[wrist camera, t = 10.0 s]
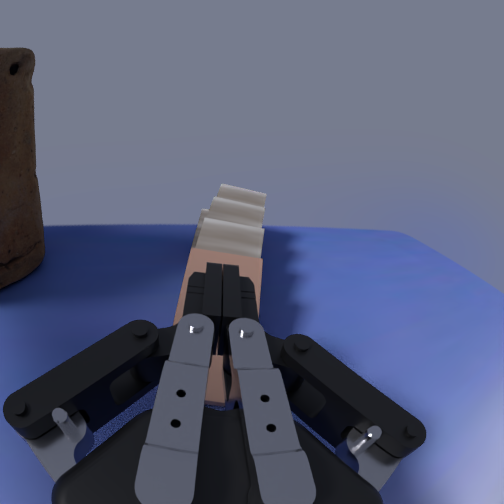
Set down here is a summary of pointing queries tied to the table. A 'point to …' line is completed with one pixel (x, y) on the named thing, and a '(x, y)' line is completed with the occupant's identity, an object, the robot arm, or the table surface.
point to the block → (18, 169)
